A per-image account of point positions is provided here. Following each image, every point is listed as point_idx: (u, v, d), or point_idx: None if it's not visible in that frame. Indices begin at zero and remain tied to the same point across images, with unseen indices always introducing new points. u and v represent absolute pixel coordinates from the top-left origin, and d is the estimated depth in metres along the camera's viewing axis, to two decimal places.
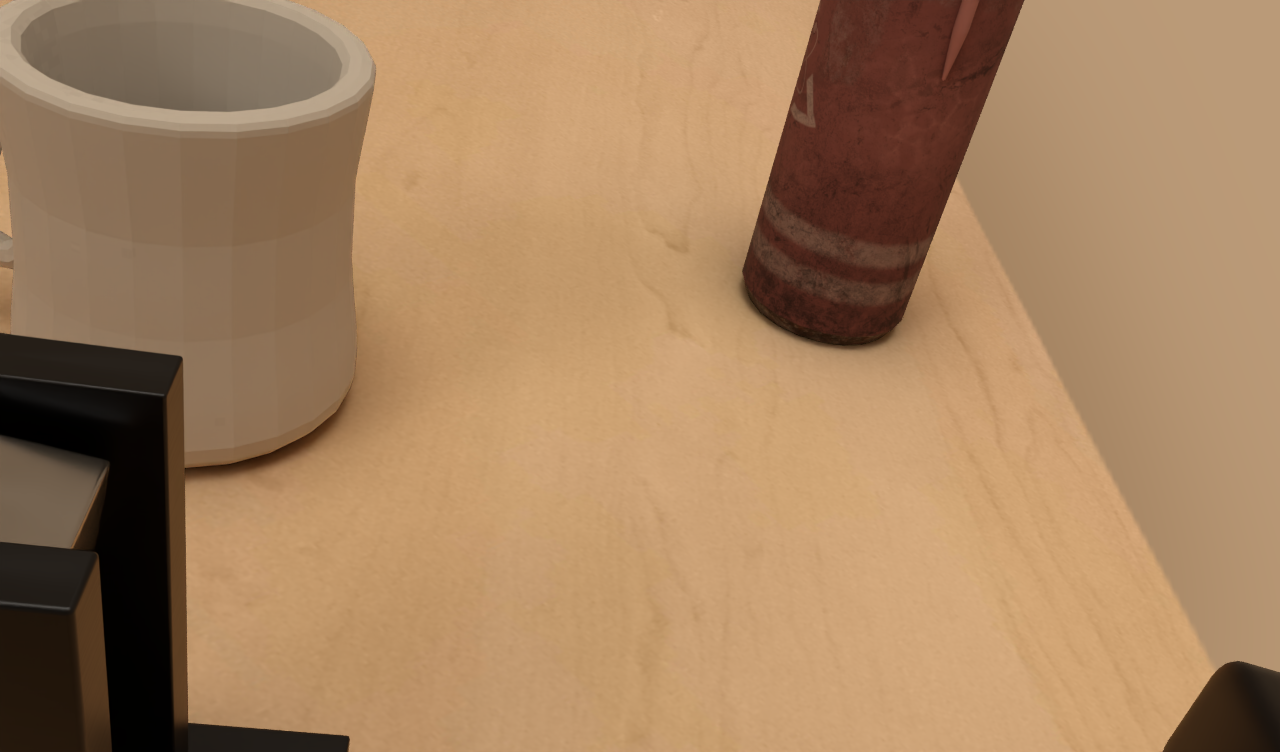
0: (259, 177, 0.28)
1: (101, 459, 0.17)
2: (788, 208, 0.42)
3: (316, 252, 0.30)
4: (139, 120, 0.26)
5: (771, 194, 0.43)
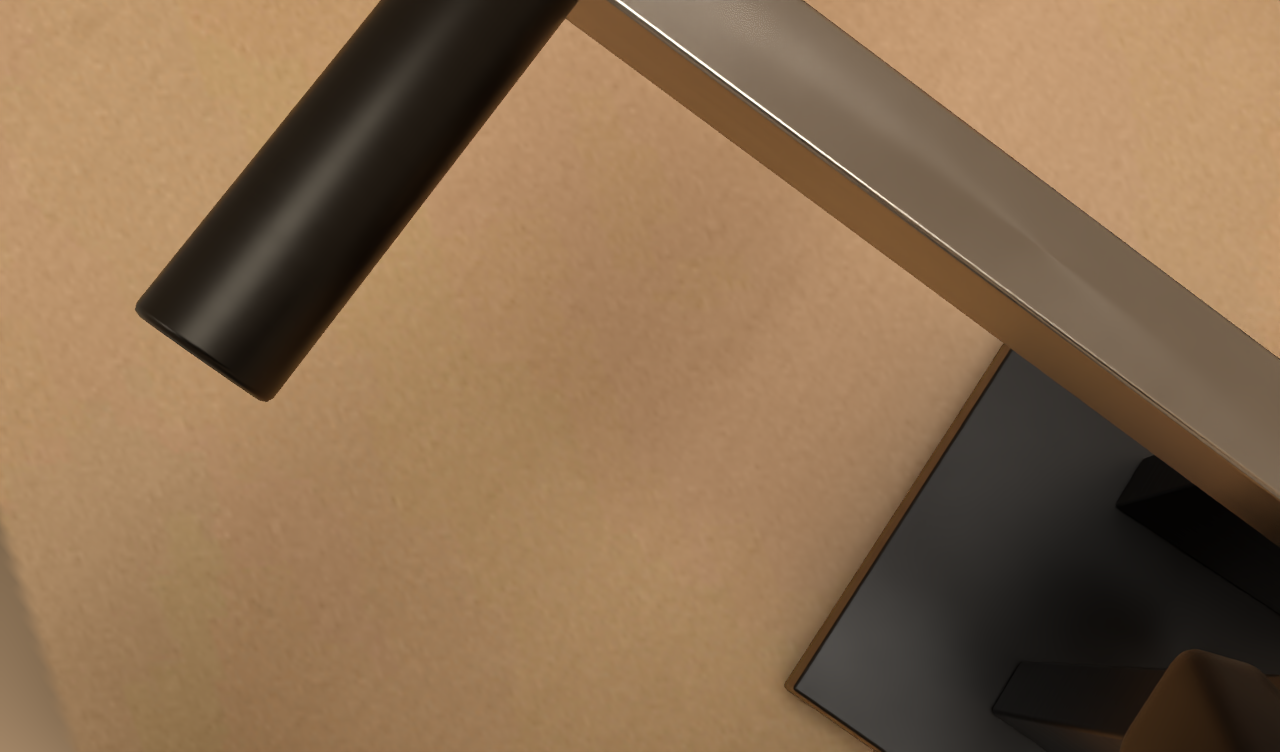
0: None
1: None
2: None
3: None
4: None
5: None
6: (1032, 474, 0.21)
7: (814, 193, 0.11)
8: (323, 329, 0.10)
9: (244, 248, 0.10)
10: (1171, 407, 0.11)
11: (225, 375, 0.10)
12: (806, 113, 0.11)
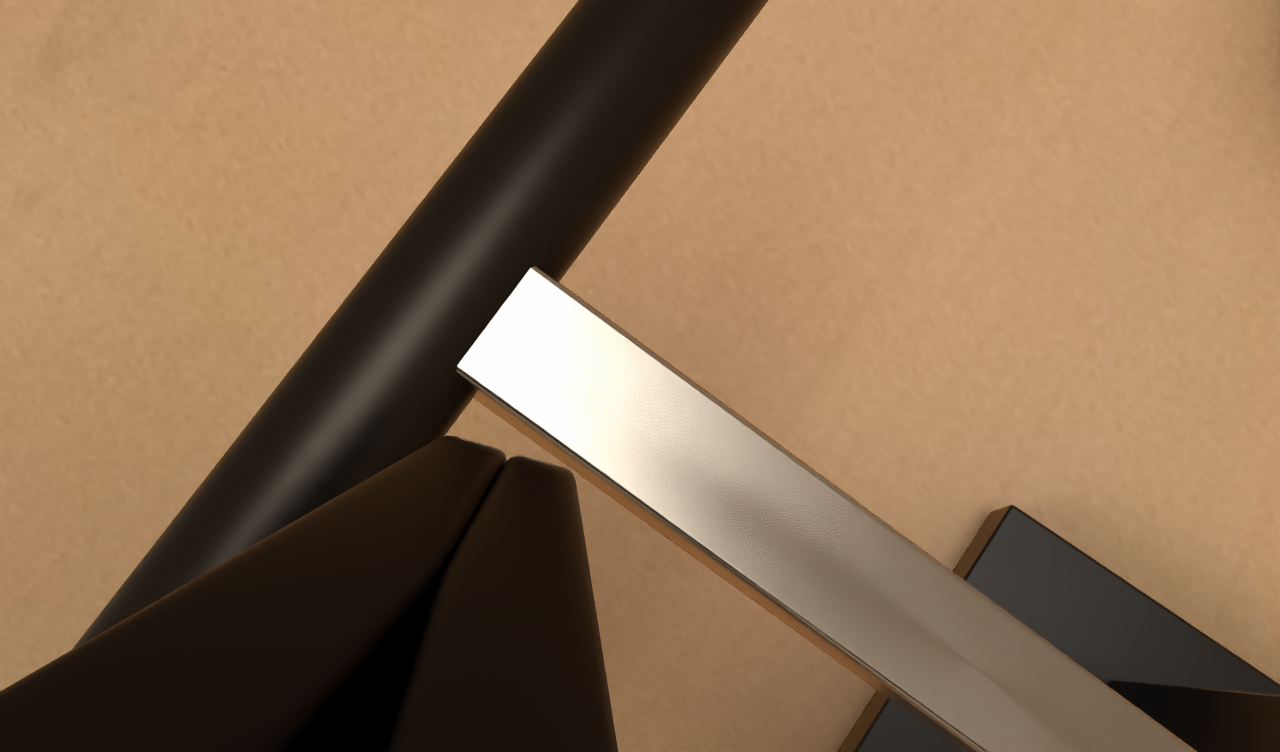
0: None
1: None
2: None
3: None
4: None
5: None
6: None
7: (733, 584, 0.11)
8: None
9: None
10: None
11: None
12: (720, 526, 0.10)
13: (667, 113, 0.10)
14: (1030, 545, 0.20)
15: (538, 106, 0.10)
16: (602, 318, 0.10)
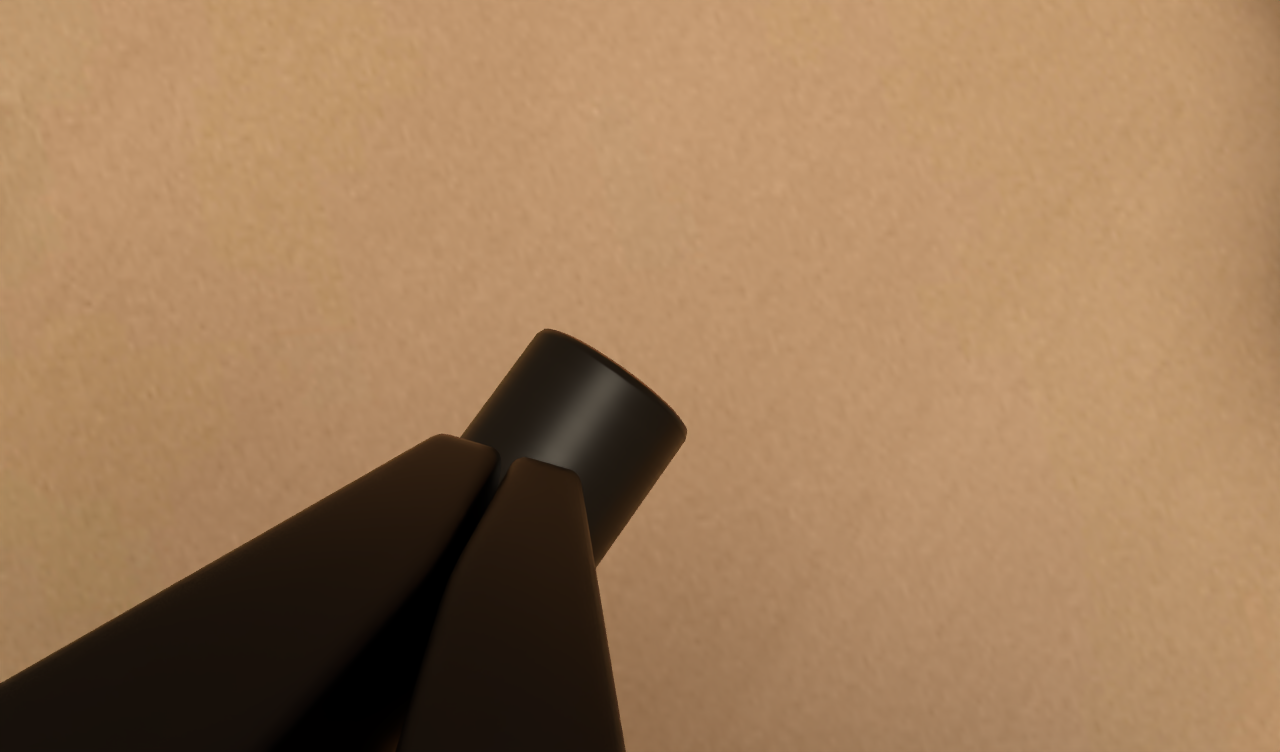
0: None
1: None
2: None
3: None
4: None
5: None
6: None
7: None
8: None
9: None
10: None
11: None
12: None
13: None
14: None
15: None
16: None
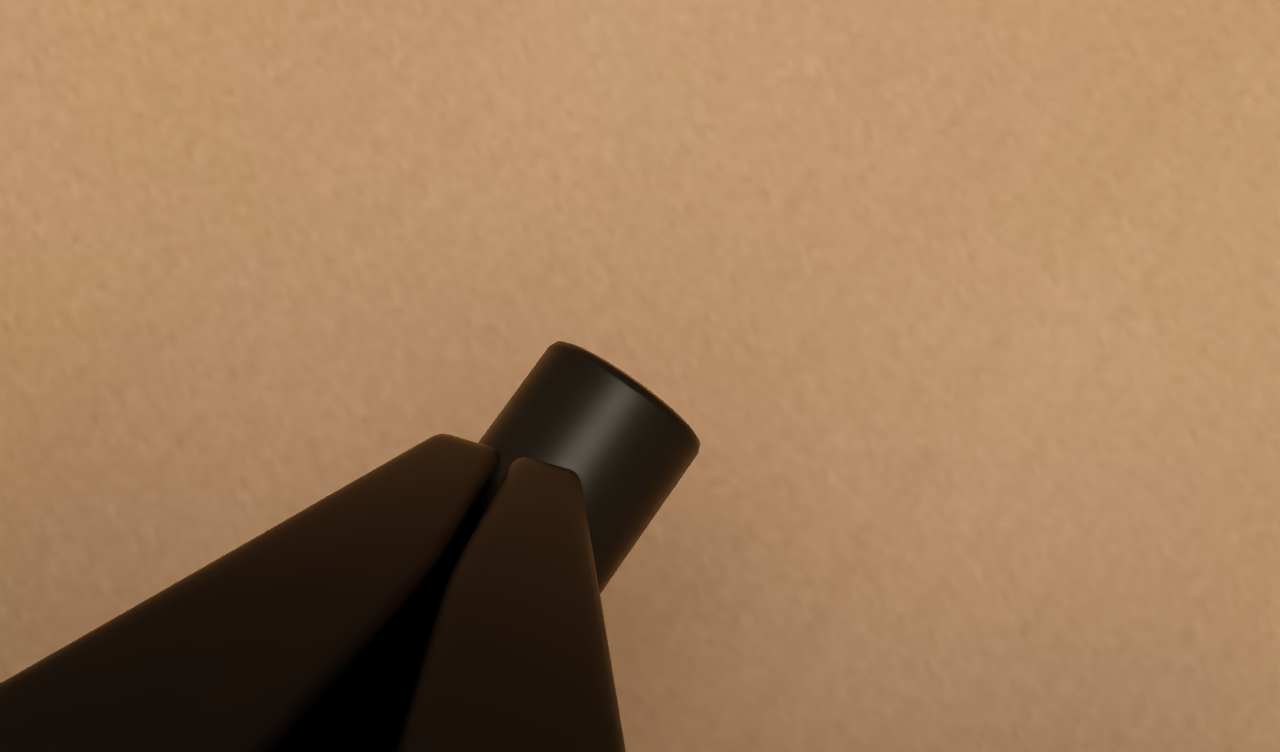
0: None
1: None
2: None
3: None
4: None
5: None
6: None
7: None
8: None
9: None
10: None
11: None
12: None
13: None
14: None
15: None
16: None
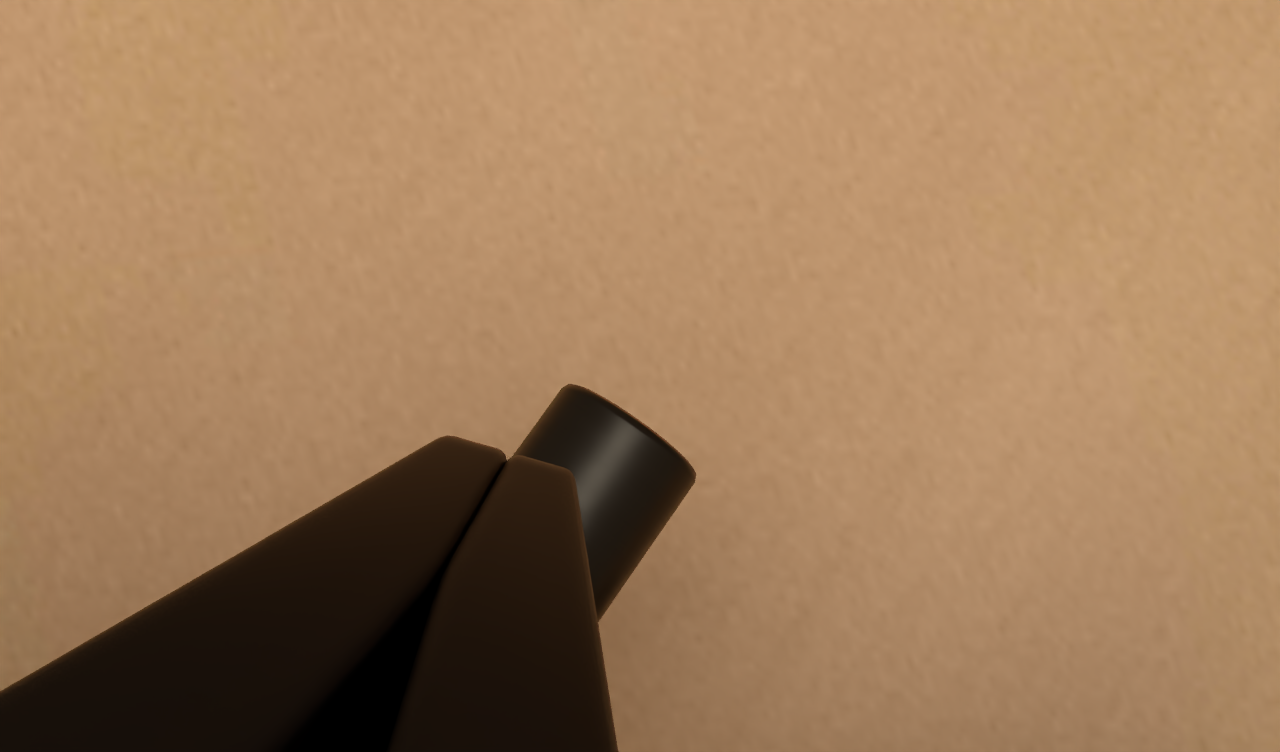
0: None
1: None
2: None
3: None
4: None
5: None
6: None
7: None
8: None
9: None
10: None
11: None
12: None
13: None
14: None
15: None
16: None
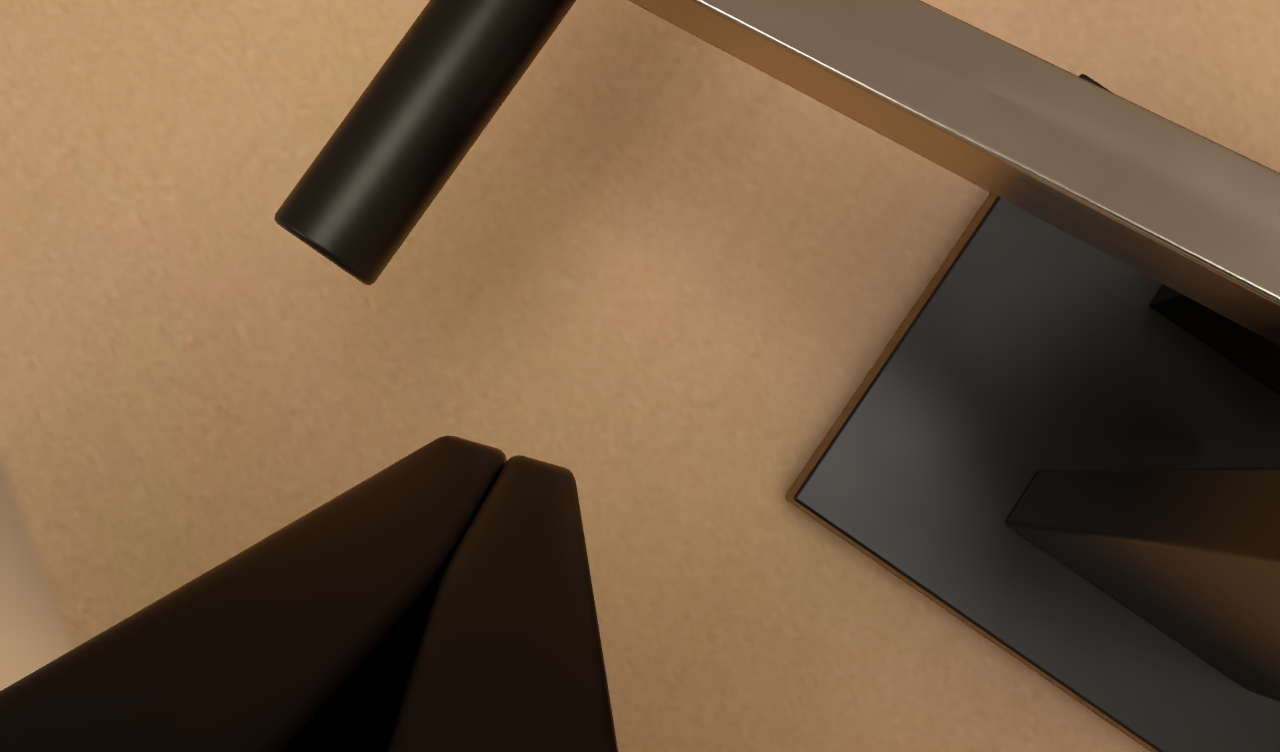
0: None
1: None
2: None
3: None
4: None
5: None
6: (1059, 271, 0.19)
7: (794, 81, 0.13)
8: (402, 225, 0.14)
9: (334, 162, 0.13)
10: (1112, 207, 0.11)
11: (322, 253, 0.13)
12: (756, 7, 0.13)
13: None
14: None
15: None
16: None
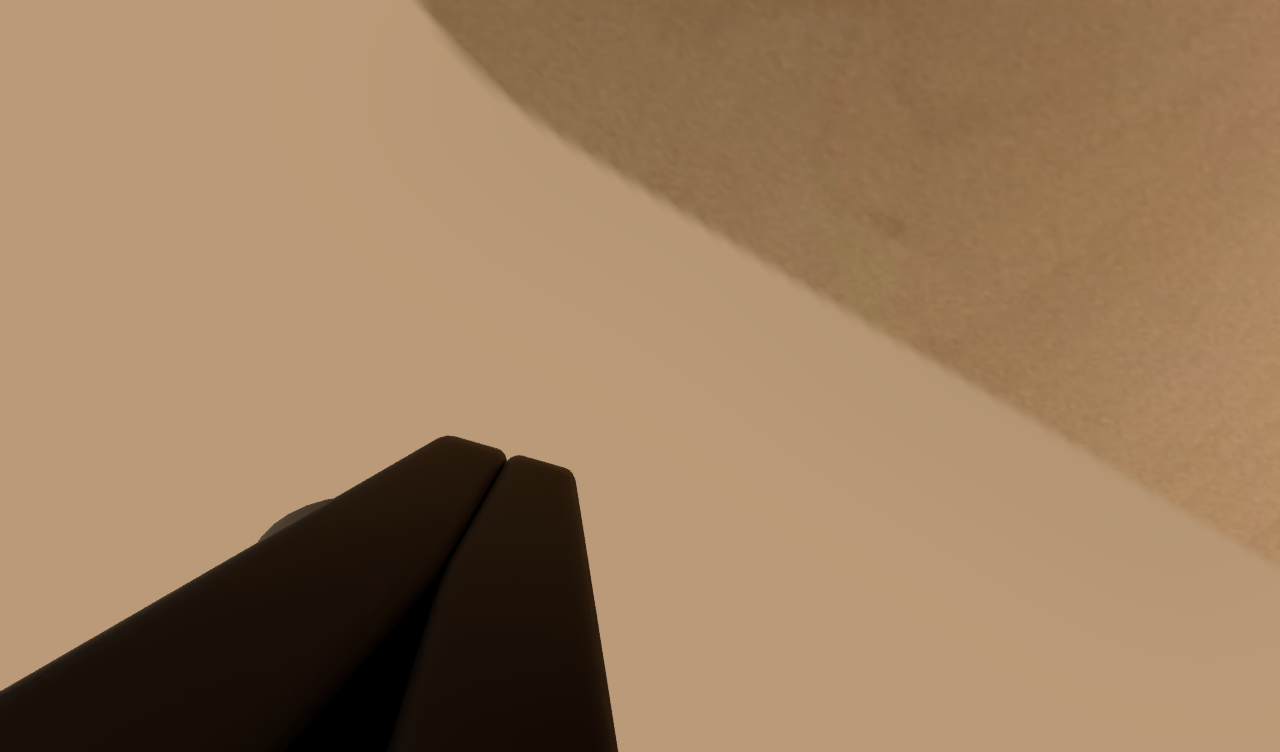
0: None
1: None
2: None
3: None
4: None
5: None
6: None
7: None
8: None
9: None
10: None
11: None
12: None
13: None
14: None
15: None
16: None
